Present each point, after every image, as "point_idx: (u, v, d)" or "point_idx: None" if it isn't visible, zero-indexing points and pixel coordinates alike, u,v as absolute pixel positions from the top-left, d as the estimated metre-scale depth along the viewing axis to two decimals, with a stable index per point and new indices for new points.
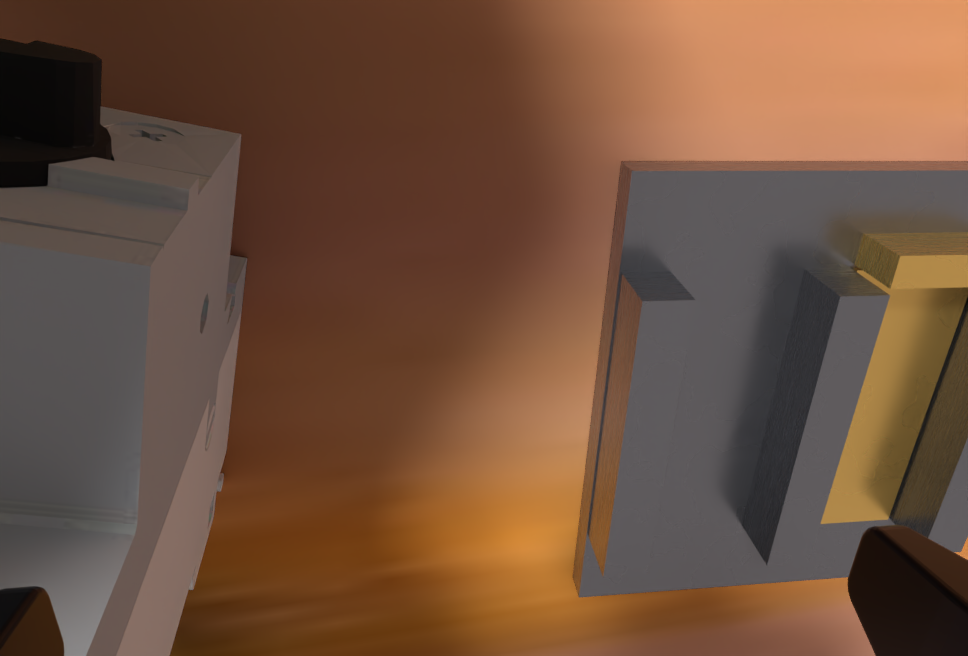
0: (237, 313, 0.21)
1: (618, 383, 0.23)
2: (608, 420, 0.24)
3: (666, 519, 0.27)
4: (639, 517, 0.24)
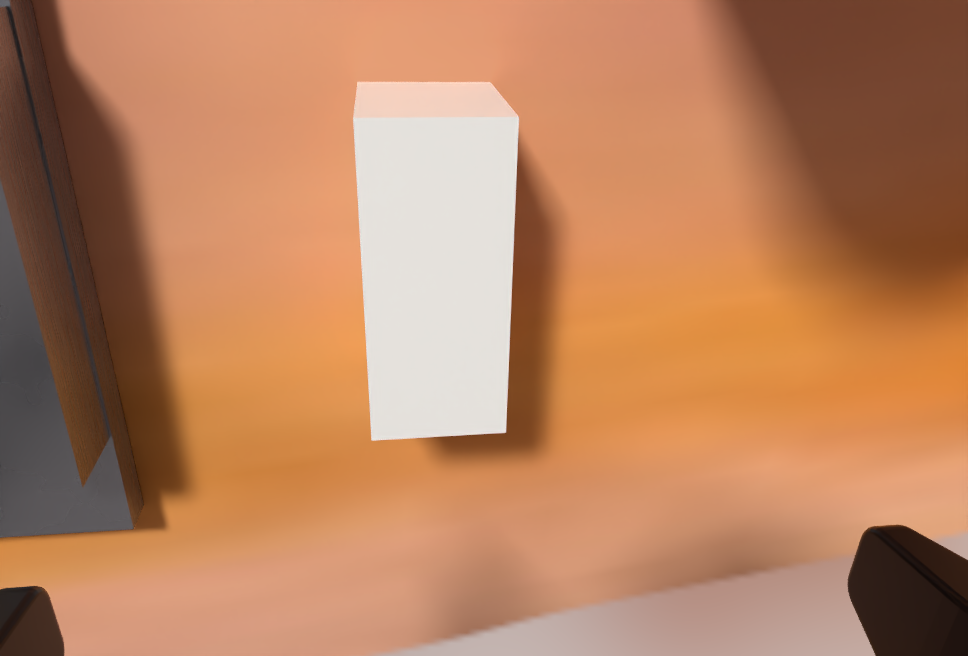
0: None
1: None
2: None
3: None
4: None
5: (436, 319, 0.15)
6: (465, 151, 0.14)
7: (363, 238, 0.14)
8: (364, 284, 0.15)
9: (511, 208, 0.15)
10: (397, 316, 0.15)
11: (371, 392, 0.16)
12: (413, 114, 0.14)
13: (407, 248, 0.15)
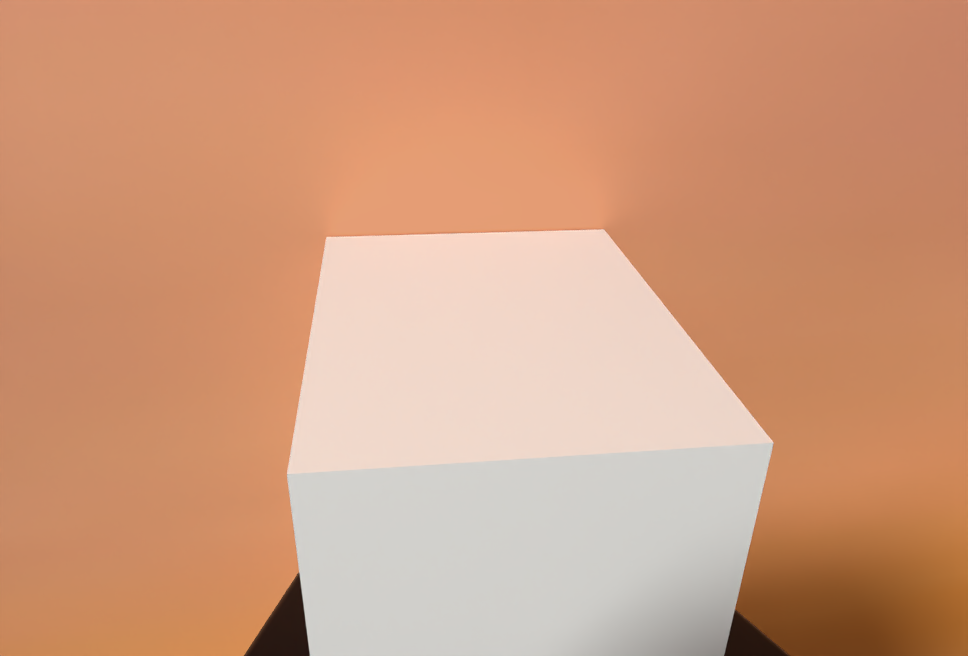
0: None
1: None
2: None
3: None
4: None
5: None
6: (614, 531, 0.05)
7: None
8: None
9: (718, 639, 0.06)
10: None
11: None
12: (466, 436, 0.05)
13: None
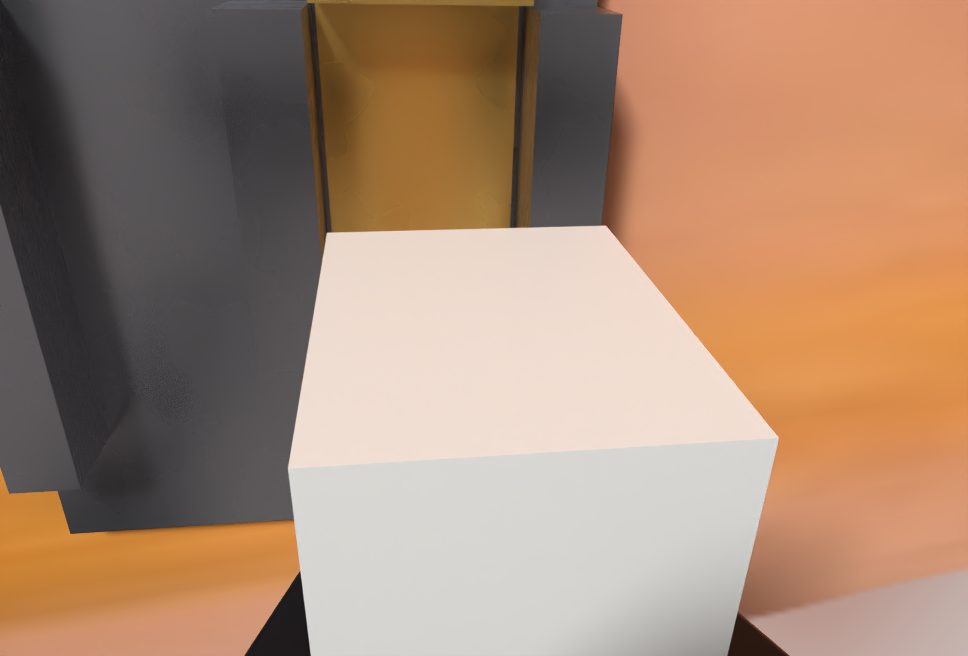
0: None
1: None
2: None
3: (160, 417, 0.19)
4: (25, 397, 0.16)
5: None
6: (616, 526, 0.05)
7: None
8: None
9: (721, 635, 0.05)
10: None
11: None
12: (469, 430, 0.05)
13: None
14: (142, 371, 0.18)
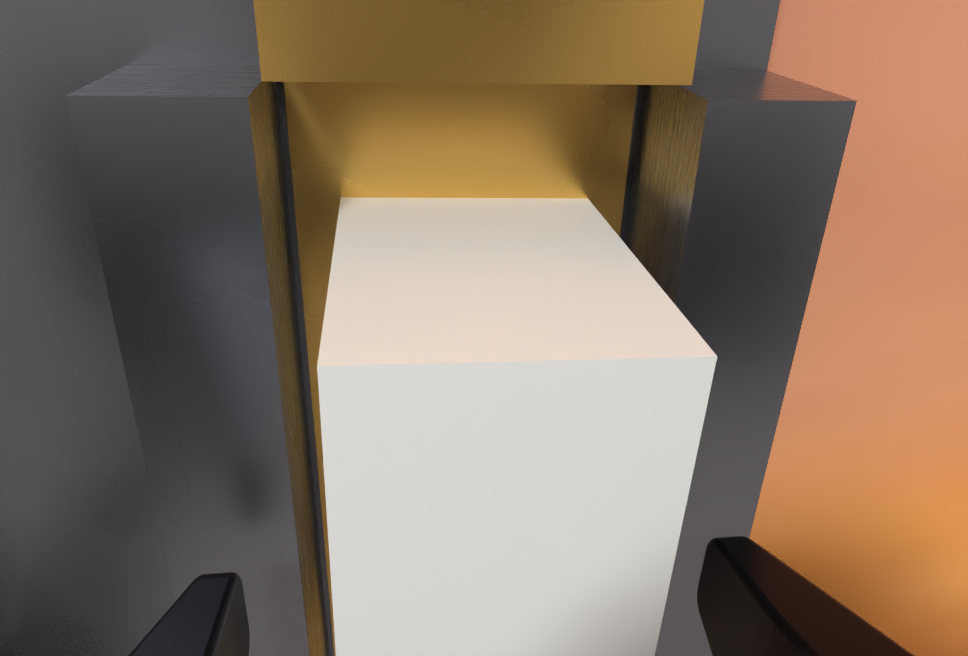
0: None
1: None
2: None
3: None
4: None
5: None
6: (584, 429, 0.06)
7: (339, 599, 0.06)
8: None
9: (671, 533, 0.07)
10: None
11: None
12: (464, 345, 0.06)
13: (437, 612, 0.07)
14: (17, 624, 0.11)
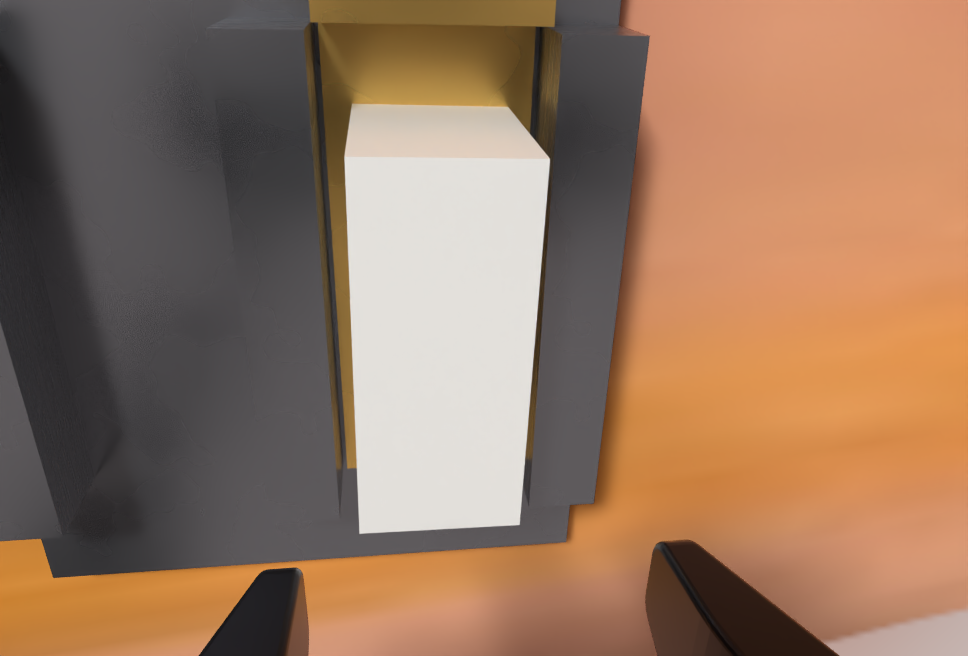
0: None
1: None
2: None
3: (149, 456, 0.17)
4: (3, 441, 0.15)
5: (440, 396, 0.13)
6: (482, 200, 0.11)
7: (354, 301, 0.12)
8: (354, 355, 0.12)
9: (536, 268, 0.12)
10: (393, 393, 0.13)
11: (360, 479, 0.13)
12: (419, 152, 0.11)
13: (407, 314, 0.12)
14: (130, 408, 0.17)
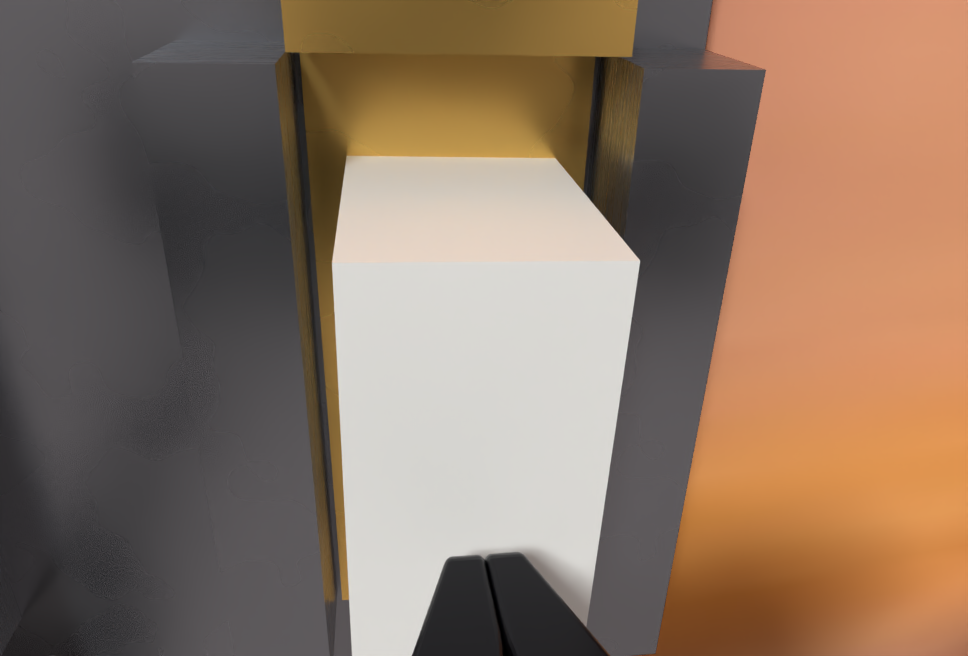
0: None
1: None
2: None
3: (91, 591, 0.14)
4: None
5: None
6: (538, 319, 0.08)
7: (348, 460, 0.08)
8: (348, 530, 0.09)
9: (611, 409, 0.08)
10: (404, 574, 0.09)
11: None
12: (444, 251, 0.07)
13: (425, 474, 0.08)
14: (64, 535, 0.13)
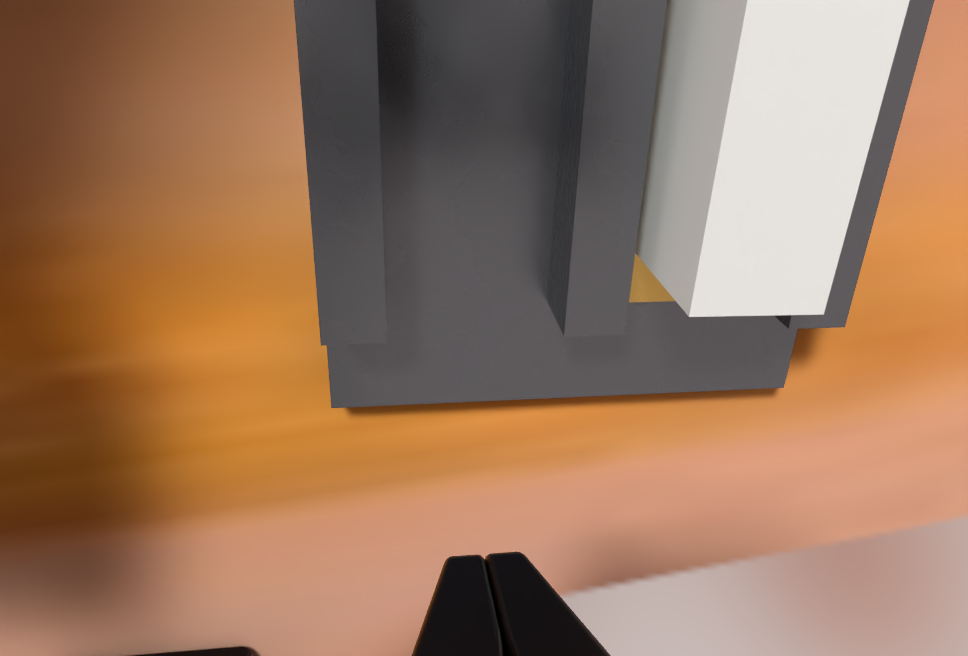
0: None
1: None
2: None
3: (436, 287, 0.19)
4: (357, 243, 0.16)
5: (786, 179, 0.15)
6: None
7: (736, 80, 0.14)
8: (725, 134, 0.14)
9: (891, 53, 0.14)
10: (748, 173, 0.14)
11: (701, 261, 0.15)
12: None
13: (776, 95, 0.14)
14: (429, 237, 0.19)
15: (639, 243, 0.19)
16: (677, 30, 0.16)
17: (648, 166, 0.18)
